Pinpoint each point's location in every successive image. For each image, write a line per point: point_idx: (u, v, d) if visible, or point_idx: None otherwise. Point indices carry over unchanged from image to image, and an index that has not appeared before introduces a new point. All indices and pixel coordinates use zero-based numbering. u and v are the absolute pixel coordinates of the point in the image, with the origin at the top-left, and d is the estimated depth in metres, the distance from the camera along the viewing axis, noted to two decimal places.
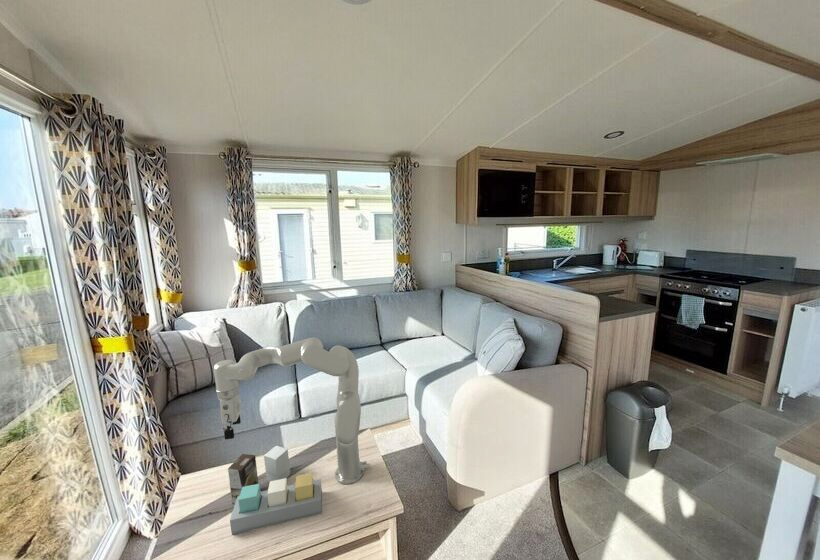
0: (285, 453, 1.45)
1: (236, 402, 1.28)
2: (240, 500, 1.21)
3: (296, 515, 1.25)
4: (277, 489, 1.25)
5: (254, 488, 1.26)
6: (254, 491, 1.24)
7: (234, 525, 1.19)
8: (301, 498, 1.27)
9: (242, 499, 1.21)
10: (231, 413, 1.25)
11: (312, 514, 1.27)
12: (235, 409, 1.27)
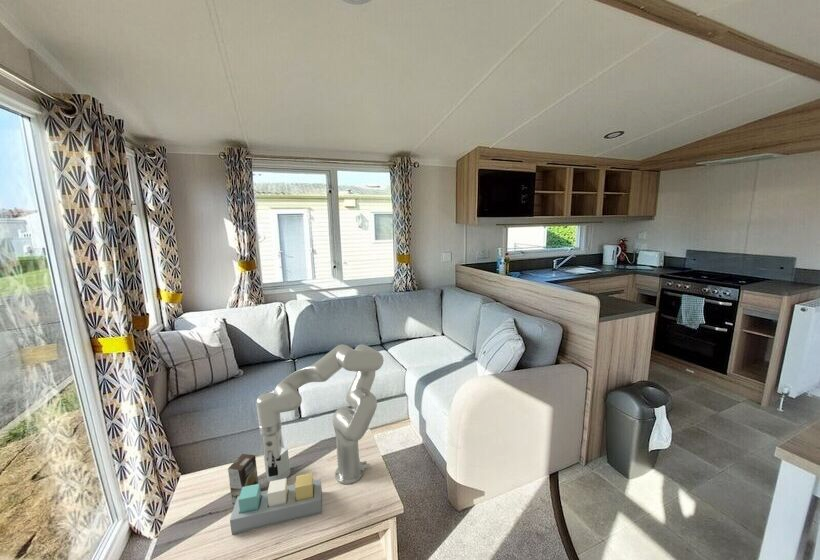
0: (285, 453, 1.45)
1: (279, 437, 1.23)
2: (240, 500, 1.21)
3: (296, 515, 1.25)
4: (277, 489, 1.25)
5: (254, 488, 1.26)
6: (254, 491, 1.24)
7: (234, 525, 1.19)
8: (301, 498, 1.27)
9: (242, 499, 1.21)
10: (275, 449, 1.19)
11: (312, 514, 1.27)
12: (278, 445, 1.21)
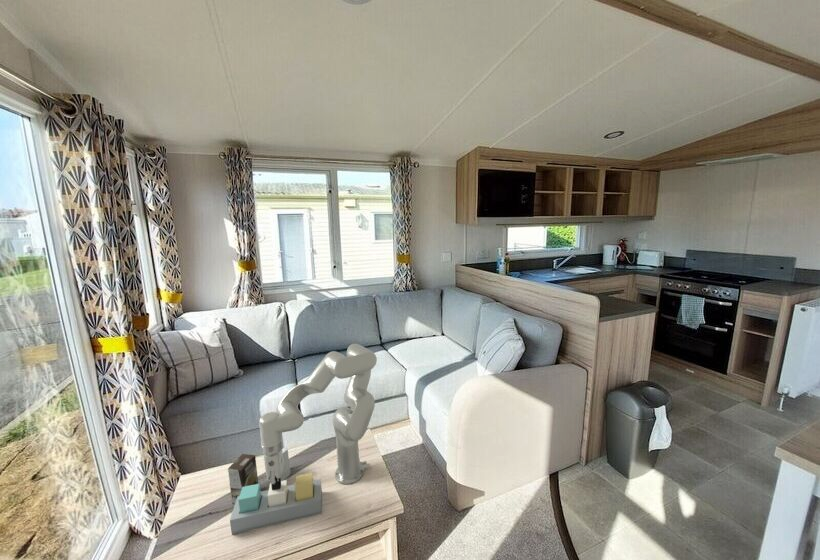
0: (285, 453, 1.45)
1: (280, 456, 1.24)
2: (240, 500, 1.21)
3: (296, 515, 1.25)
4: (278, 491, 1.25)
5: (254, 488, 1.26)
6: (254, 491, 1.24)
7: (234, 525, 1.19)
8: (301, 498, 1.27)
9: (242, 499, 1.21)
10: (276, 469, 1.21)
11: (312, 514, 1.27)
12: (280, 464, 1.23)
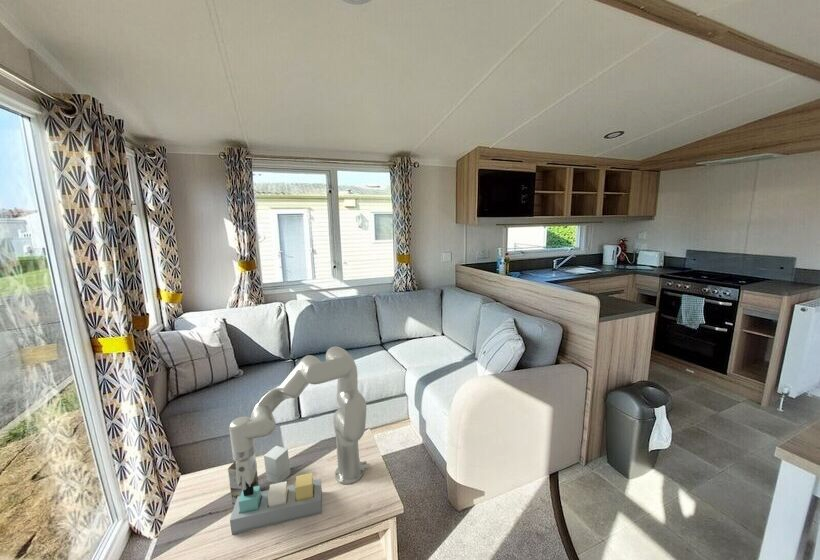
0: (285, 453, 1.45)
1: (252, 461, 1.22)
2: (240, 502, 1.21)
3: (296, 515, 1.25)
4: (278, 493, 1.25)
5: (254, 490, 1.26)
6: (254, 493, 1.24)
7: (234, 525, 1.19)
8: (301, 498, 1.27)
9: (242, 501, 1.21)
10: (247, 474, 1.18)
11: (312, 514, 1.27)
12: (251, 470, 1.20)
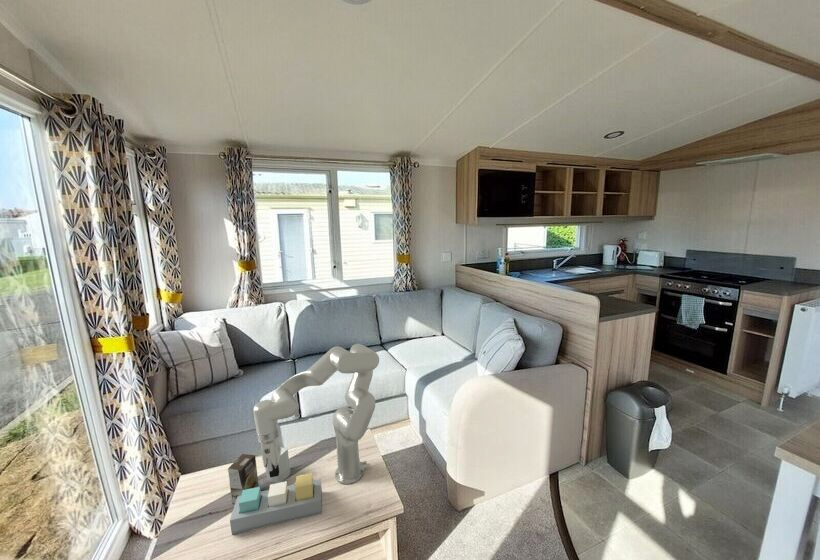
0: (285, 453, 1.45)
1: (277, 444, 1.23)
2: (240, 503, 1.21)
3: (296, 515, 1.25)
4: (278, 493, 1.25)
5: (254, 491, 1.26)
6: (254, 494, 1.25)
7: (234, 525, 1.19)
8: (301, 498, 1.27)
9: (242, 503, 1.21)
10: (273, 456, 1.20)
11: (312, 514, 1.27)
12: (276, 452, 1.22)
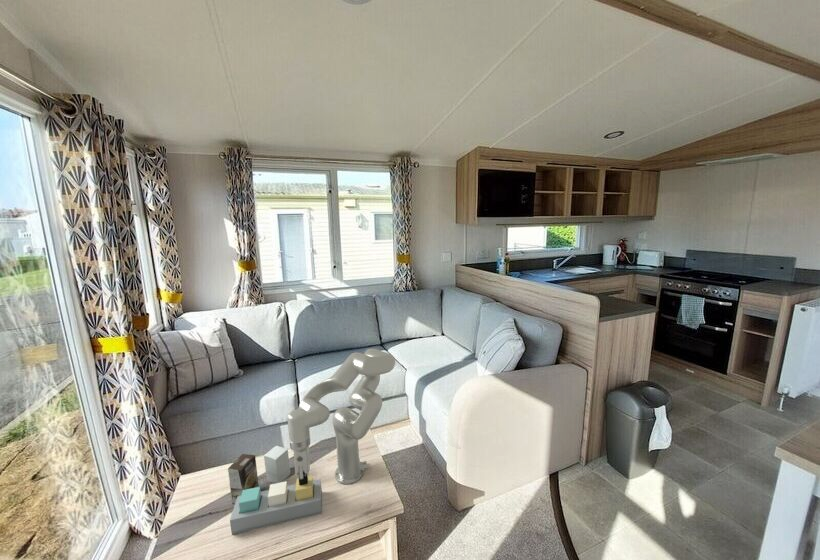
0: (285, 453, 1.45)
1: (308, 452, 1.26)
2: (240, 503, 1.21)
3: (296, 515, 1.25)
4: (278, 493, 1.25)
5: (254, 491, 1.26)
6: (254, 494, 1.25)
7: (234, 525, 1.19)
8: None
9: (242, 503, 1.21)
10: (305, 464, 1.23)
11: (312, 514, 1.27)
12: (308, 460, 1.25)
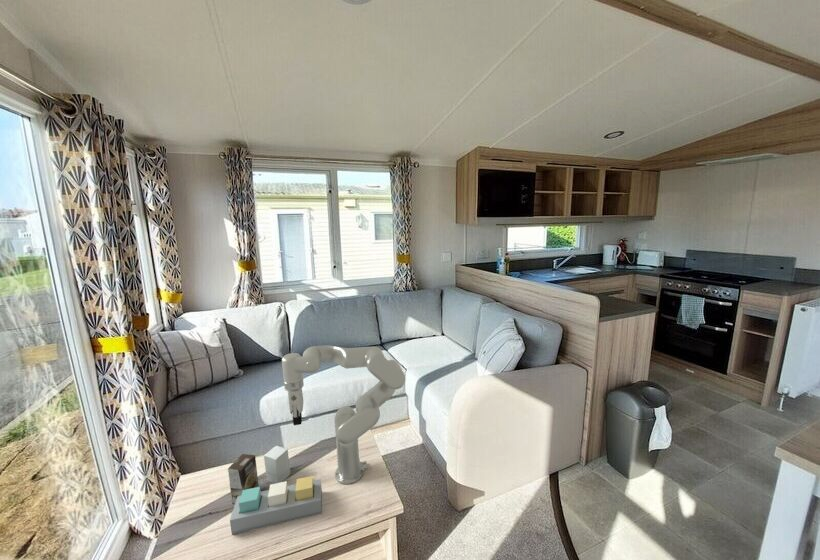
0: (285, 453, 1.45)
1: (301, 393, 1.35)
2: (240, 503, 1.21)
3: (296, 515, 1.25)
4: (278, 493, 1.25)
5: (254, 491, 1.26)
6: (254, 494, 1.25)
7: (234, 525, 1.19)
8: None
9: (242, 503, 1.21)
10: (298, 403, 1.31)
11: (312, 514, 1.27)
12: (301, 400, 1.33)
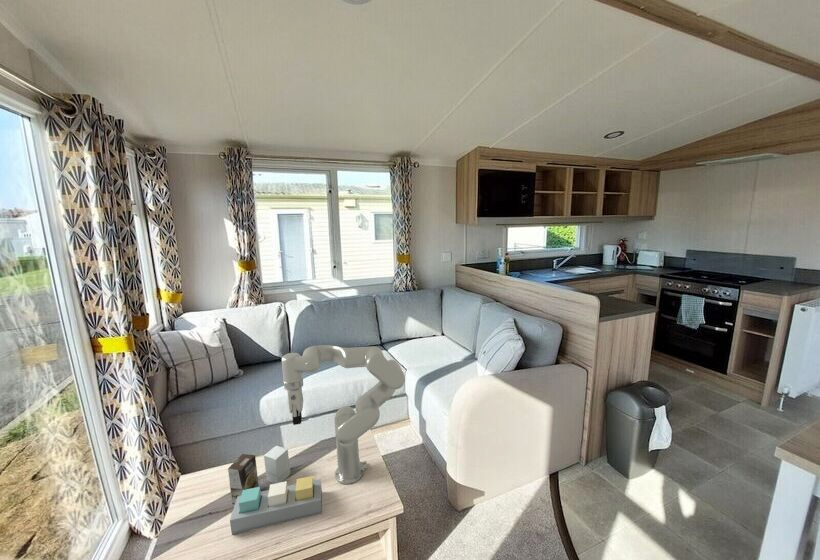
0: (285, 453, 1.45)
1: (301, 393, 1.35)
2: (240, 503, 1.21)
3: (296, 515, 1.25)
4: (278, 493, 1.25)
5: (254, 491, 1.26)
6: (254, 494, 1.25)
7: (234, 525, 1.19)
8: None
9: (242, 503, 1.21)
10: (298, 403, 1.32)
11: (312, 514, 1.27)
12: (301, 399, 1.33)
